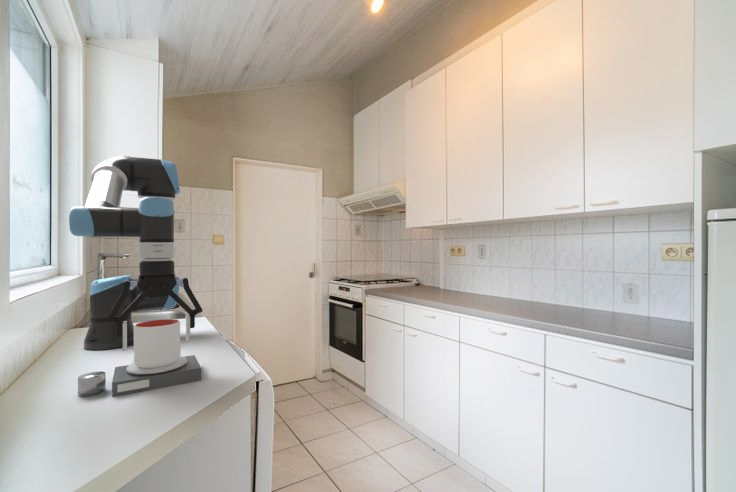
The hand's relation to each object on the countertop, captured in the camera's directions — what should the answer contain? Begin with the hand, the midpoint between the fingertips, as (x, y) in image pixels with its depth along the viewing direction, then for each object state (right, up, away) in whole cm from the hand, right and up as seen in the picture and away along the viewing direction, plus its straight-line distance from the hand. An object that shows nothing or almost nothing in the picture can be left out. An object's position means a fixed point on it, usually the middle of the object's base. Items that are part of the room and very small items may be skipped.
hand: (157, 345), depth 90 cm
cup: (0, -5, 0) cm, 5 cm away
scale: (0, -8, 0) cm, 8 cm away
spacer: (-10, -9, -8) cm, 16 cm away
